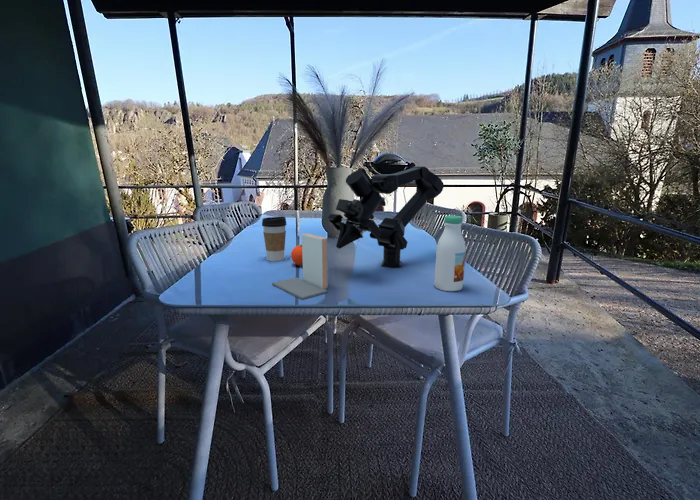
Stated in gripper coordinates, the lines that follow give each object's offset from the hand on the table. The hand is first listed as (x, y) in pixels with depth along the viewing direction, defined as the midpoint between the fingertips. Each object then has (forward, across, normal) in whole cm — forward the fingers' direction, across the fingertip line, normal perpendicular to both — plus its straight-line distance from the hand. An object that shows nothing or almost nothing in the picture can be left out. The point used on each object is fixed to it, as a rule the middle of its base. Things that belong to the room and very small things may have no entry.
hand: (337, 247), depth 106 cm
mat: (+16, 0, -3) cm, 17 cm away
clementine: (+7, -20, +7) cm, 22 cm away
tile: (+13, 0, +1) cm, 13 cm away
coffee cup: (+9, -31, +5) cm, 33 cm away
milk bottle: (-7, +26, +20) cm, 33 cm away
